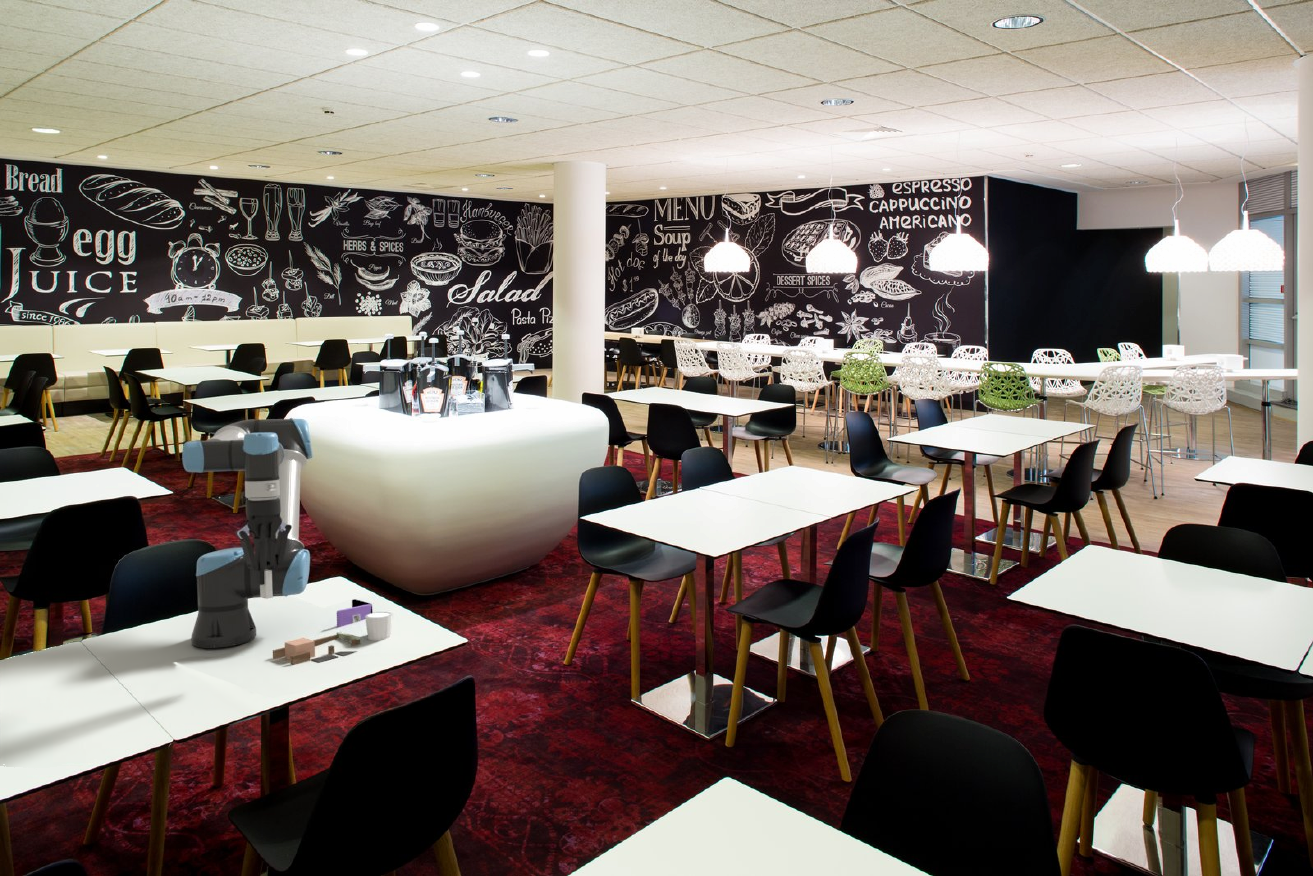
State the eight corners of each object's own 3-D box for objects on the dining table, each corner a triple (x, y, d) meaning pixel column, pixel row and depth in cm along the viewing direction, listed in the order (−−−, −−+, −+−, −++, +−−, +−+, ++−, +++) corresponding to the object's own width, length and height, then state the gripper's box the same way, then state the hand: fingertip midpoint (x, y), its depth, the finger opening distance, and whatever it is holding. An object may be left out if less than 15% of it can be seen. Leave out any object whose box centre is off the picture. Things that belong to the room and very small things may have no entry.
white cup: (385, 645, 231) (384, 618, 231) (360, 644, 233) (359, 617, 232) (398, 638, 238) (397, 612, 238) (374, 637, 239) (373, 611, 239)
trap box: (272, 658, 221) (272, 648, 221) (340, 641, 236) (339, 631, 236) (301, 667, 213) (300, 657, 213) (369, 649, 228) (368, 639, 228)
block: (285, 658, 222) (284, 642, 221) (304, 653, 225) (303, 637, 225) (296, 662, 218) (295, 645, 218) (315, 657, 222) (314, 641, 222)
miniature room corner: (378, 628, 249) (378, 603, 249) (338, 637, 240) (337, 611, 240) (356, 621, 257) (355, 597, 257) (316, 629, 249) (315, 605, 248)
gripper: (244, 502, 206) (247, 604, 207) (297, 496, 216) (300, 594, 218) (227, 500, 211) (231, 600, 212) (280, 494, 221) (283, 590, 222)
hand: (266, 597), depth 215 cm, fingers closed
